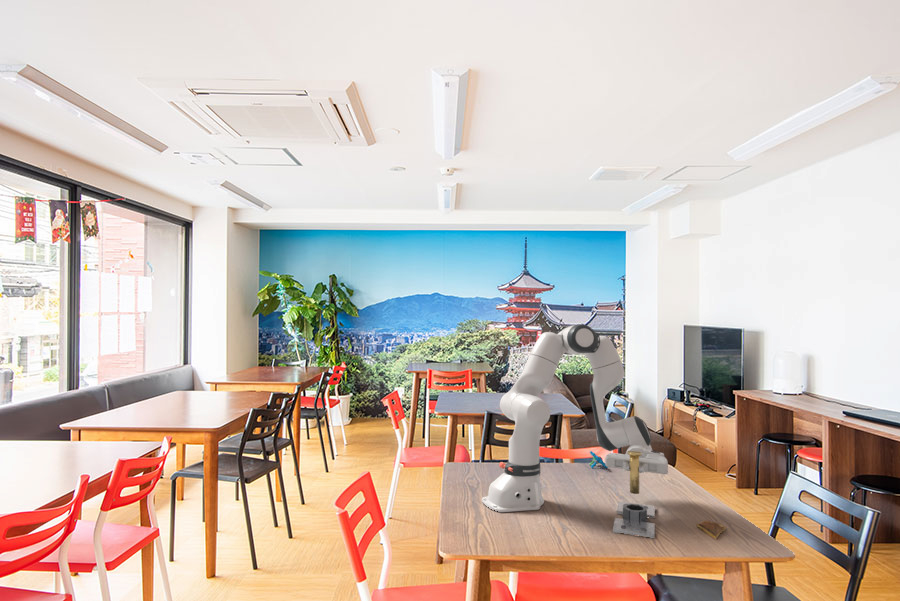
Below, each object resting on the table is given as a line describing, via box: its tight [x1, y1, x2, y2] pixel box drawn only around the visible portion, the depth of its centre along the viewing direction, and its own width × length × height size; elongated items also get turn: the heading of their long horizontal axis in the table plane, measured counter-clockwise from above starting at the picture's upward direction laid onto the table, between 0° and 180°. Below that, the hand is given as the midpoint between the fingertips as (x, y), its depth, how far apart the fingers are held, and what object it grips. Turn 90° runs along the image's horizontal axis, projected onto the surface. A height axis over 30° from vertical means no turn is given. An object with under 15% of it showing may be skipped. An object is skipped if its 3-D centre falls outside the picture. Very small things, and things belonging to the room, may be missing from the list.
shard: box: [696, 519, 727, 540], centre depth 158 cm, size 11×8×2 cm
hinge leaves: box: [612, 501, 656, 539], centre depth 167 cm, size 27×12×4 cm, turn 158°
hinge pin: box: [626, 450, 641, 495], centre depth 167 cm, size 4×4×13 cm
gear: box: [589, 450, 609, 469], centre depth 228 cm, size 11×6×10 cm
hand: (634, 469), depth 167 cm, fingers closed on hinge pin, 3 cm apart
